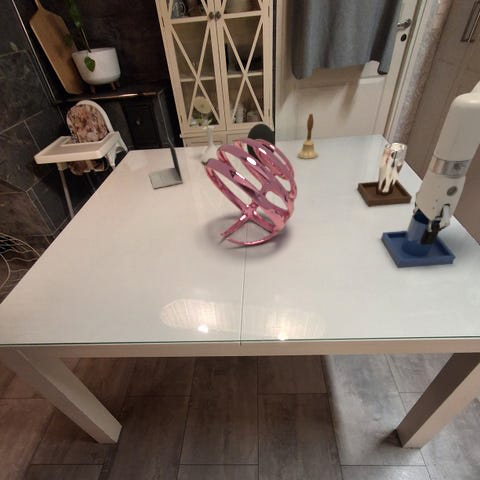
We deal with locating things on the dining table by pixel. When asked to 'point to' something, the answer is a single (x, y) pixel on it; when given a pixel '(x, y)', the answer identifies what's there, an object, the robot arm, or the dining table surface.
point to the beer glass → (389, 168)
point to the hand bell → (308, 142)
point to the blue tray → (434, 257)
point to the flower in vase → (206, 128)
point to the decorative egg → (260, 133)
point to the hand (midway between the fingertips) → (420, 235)
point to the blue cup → (416, 235)
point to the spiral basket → (257, 196)
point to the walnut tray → (371, 200)
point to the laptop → (167, 173)
